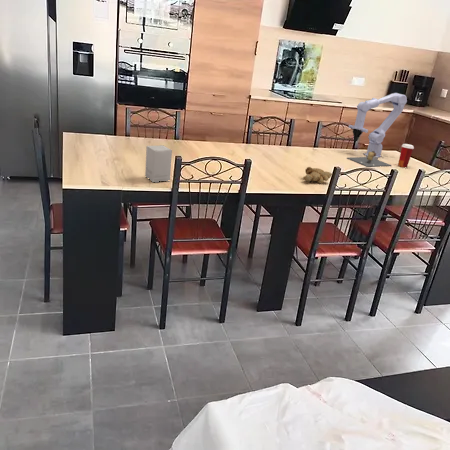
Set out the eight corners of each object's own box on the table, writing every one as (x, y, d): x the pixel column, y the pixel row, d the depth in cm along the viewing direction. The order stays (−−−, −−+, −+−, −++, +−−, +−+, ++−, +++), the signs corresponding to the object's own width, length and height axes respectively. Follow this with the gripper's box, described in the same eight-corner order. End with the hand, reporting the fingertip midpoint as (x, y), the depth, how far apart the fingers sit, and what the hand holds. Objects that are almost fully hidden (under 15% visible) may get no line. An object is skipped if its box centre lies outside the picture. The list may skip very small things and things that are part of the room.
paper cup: (408, 166, 293) (414, 145, 287) (408, 168, 286) (414, 147, 281) (396, 163, 295) (401, 142, 289) (396, 166, 288) (402, 145, 283)
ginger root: (326, 174, 244) (329, 161, 240) (331, 190, 232) (335, 177, 227) (297, 172, 244) (300, 159, 239) (301, 188, 231) (304, 175, 226)
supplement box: (170, 181, 207) (172, 150, 201) (152, 183, 202) (154, 150, 196) (162, 175, 214) (163, 144, 208) (144, 177, 209) (146, 145, 203)
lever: (369, 154, 299) (370, 147, 297) (376, 155, 298) (377, 148, 296) (365, 159, 284) (367, 152, 282) (372, 160, 282) (374, 153, 281)
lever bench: (370, 157, 302) (371, 154, 301) (391, 166, 287) (392, 162, 286) (346, 158, 293) (347, 154, 292) (367, 166, 278) (368, 162, 276)
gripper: (347, 118, 299) (343, 138, 305) (365, 123, 289) (360, 143, 295) (354, 118, 304) (349, 138, 309) (371, 122, 293) (367, 143, 299)
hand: (355, 140), depth 302 cm, fingers closed
